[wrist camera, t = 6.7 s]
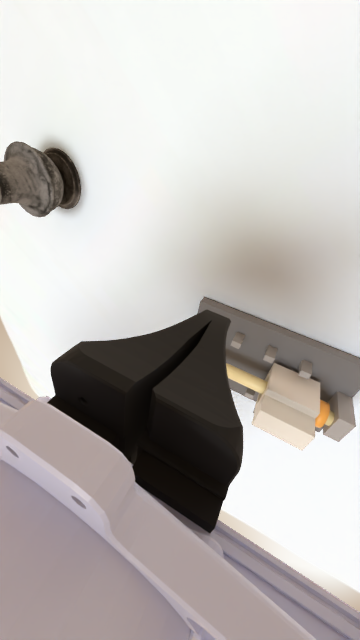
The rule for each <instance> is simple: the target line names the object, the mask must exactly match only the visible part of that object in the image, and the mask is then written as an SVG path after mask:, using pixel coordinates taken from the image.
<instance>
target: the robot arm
mask: <svg viewBox="0 0 360 640" xmlns="http://www.w3.org/2000/svg"><path fill="white" fill-rule="evenodd" d="M230 323H231V320H230V319H229V318H227V317H224V316H222V315H220V314H217V313H215V312H212V311H210V310H204V311H202V312H200V313H198V314H197V315H195V316H193V317H191V318H189V319H187V320H185V321H182V322H180V323H178V324H176V325H173V326H171V327H168V328H166V329H163V330H160V331H157V332H154V333H150V334H146V335H142V336H137V337H132V338H126V339H119V340H109V341H85V342H80V343H78V344H77V345H75V346H74V347H73V348H71V349H70V350H69V351H67V352H66V353H64V354H63V355H62V356H60V357H59V358H58V359H56V360H55V361H54V362H53V363H52V365H51V377H52V381H53V385H54V390H55V394H56V395H55V396H54V397H53V398H52V399H51V398H50V397H48V396H46V397H39V398H37V399H36V400H34V399H32V398H31V397H30V396H28V395H26V394H25V393H23V392H22V391H20V390H19V389H17V388H16V387H14V386H13V385H11V384H10V383H8V382H7V381H5V380H4V379H2V378H0V640H360V612H358V611H357V610H355V609H354V608H352V607H351V606H349V605H348V604H346V603H345V602H343V601H342V600H340V599H339V598H337V597H336V596H334V595H332V594H331V593H329V592H328V591H326V590H325V589H323V588H322V587H320V586H319V585H317V584H315V583H314V582H313V581H311V580H309V579H308V578H306V577H305V576H303V575H302V574H300V573H299V572H297V571H296V570H294V569H293V568H291V567H290V566H288V565H287V564H285V563H283V562H282V561H280V560H279V559H277V558H276V557H274V556H273V555H271V554H270V553H268V552H267V551H265V550H264V549H262V548H261V547H259V546H257V545H256V544H254V543H253V542H251V541H250V540H248V539H247V538H245V537H244V536H242V535H241V534H239V533H237V532H236V531H234V530H233V529H231V528H230V527H228V526H227V525H225V524H224V523H222V522H221V521H219V520H218V516H219V513H220V510H221V506H222V503H223V500H224V499H225V497H226V494H227V491H228V487H229V485H230V483H231V482H232V481H233V479H234V478H235V476H236V475H237V474H238V472H239V470H240V467H241V463H242V455H243V427H242V424H241V422H240V419H239V416H238V414H237V411H236V408H235V405H234V401H233V398H232V394H231V390H230V386H229V381H228V375H227V368H226V336H227V331H228V329H229V326H230Z"/></svg>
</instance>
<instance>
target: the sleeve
mask: <svg viewBox="0 0 360 640" xmlns="http://www.w3.org/2000/svg"><path fill="white" fill-rule="evenodd" d="M265 381H267V382H268V383H267V387H266V390H265V391H264V393H263V394H261V393H259V394H258V398H257V401H256V405H255V408H254V412H253V413H254V417H253V421H252V425H254V426H256V427H258V428H260V429H262V430H264V431H265V432H267V433H269V434H271V435H273V436H275V437H277V438H279V439H281V440H283V441H285V442H287V443H289V444H291V445H292V446H294V447H296V448H298V449H300V450H303V449H304V448H305V447H306V446H307V445H308V444H309V443H310V442H311V441H312V440H313V439H314V438H315V418H316V417H317V416H318V415H319V414H320V382H317V381H315V380H313V379H310V378H309V379H306V378H304V377H301V376H299V375H298V373H297V372H294V371H292V370H290V369H287V368H285V367H283V366H281V365H278V364H276V363H274V364H273V366H272V367H271V369H270V371H269V373H268V374H267V376H266V378H265Z"/></svg>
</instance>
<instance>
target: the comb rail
mask: <svg viewBox="0 0 360 640" xmlns="http://www.w3.org/2000/svg"><path fill="white" fill-rule="evenodd" d="M204 310H210V311H212V312H215V313H217V314H220V315H222V316H224V317H227V318H229V319H230V320H231V323H230V326H229V329H228V331H227V336H226V368H227V375H228V381H229V386H230V389H231V390H234V391H236V392H238V393H240V394H242V395H244V396H245V397H247V398H249V399H251V400H254V401H257V398H258V394H259V393H261V394H263V393H264V391H265V390H266V387H267V383H268V382H267V381H265V378H266V376H267V374H268V373H269V371H270V369H271V367H272V366H273V364H274V363H276V364H278V365H281V366H283V367H285V368H287V369H290V370H292V371H294V372H297V373H298V375H299V376H301V377H304V378H306V379H309V378H310V379H313V380H315V381H317V382H320V414H319V415H318V416H317V417H316V418H315V431H317V432H320V431H321V430H322V429H323V435H325V436H328V437H330V438H332V439H334V440H336V441H338V442H339V441H340V440H341V439H342V438H343V437H344V436H346V435H347V434H348V433H349V432H350V431H351V430H352V429H353V428H354V427H356V424H355V416H354V408H353V400H352V397H353V396H354V395H355V394H356V393H357V392H358V391H359V390H360V358H358V357H356V356H353V355H351V354H348V353H345V352H343V351H340V350H338V349H335V348H333V347H330V346H328V345H325V344H323V343H320V342H317V341H315V340H312V339H310V338H307V337H305V336H302V335H300V334H297V333H295V332H292V331H289V330H287V329H284V328H282V327H279V326H277V325H274V324H272V323H269V322H267V321H264V320H261V319H259V318H256V317H254V316H251V315H249V314H246V313H244V312H241V311H239V310H236V309H234V308H231V307H228V306H226V305H223V304H221V303H218V302H216V301H213V300H211V299H208V298H206V297H204V298H203V299H202V301H201V302H200V306H199V310H198V313H200V312H202V311H204Z"/></svg>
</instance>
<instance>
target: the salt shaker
mask: <svg viewBox="0 0 360 640" xmlns="http://www.w3.org/2000/svg"><path fill="white" fill-rule="evenodd" d="M80 193H81V186H80V179H79V175H78V172H77V170H76V168H75V166H74V164H73V162H72V161H71V159H70V158H69V157H68V156H67V155H66V154H65V153H64V152H63V151H61V150H59V149H56V148H50V149H47V150H46V151H45V152H44V153H42V152H40V151H39V150H37V149H35V148H32V147H31V146H29V145H27V144H25V143H23V142H13V143H11V144H10V145H9V146H8V147H7V149H6V152H5V155H4V161H3V162H0V204H8V203H19V204H20V205H21V207H23V208H24V209H25V210H26V211H27V212H28V213H30V214H31V215H33V216H36V217H44V216H46V215H48V214H49V213H50V212H51V211H52V210H54V209H55V208H56V207H57V206H60V207H61V208H65V209H69V208H73V207H74V206H76V204H77V203H78V201H79V198H80Z"/></svg>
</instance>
